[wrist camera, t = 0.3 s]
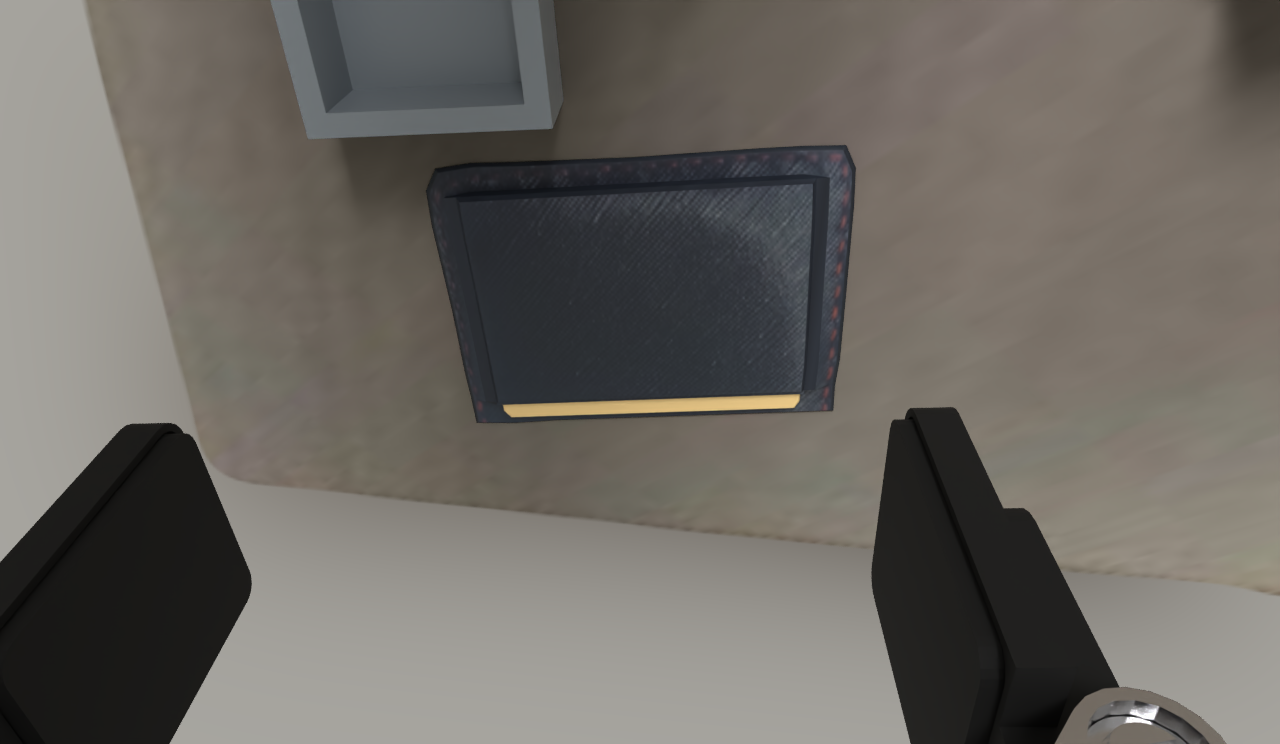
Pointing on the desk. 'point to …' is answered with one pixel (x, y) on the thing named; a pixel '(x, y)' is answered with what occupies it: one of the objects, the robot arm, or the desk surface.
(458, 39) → the tray
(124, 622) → the robot arm
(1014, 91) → the desk surface
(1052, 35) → the desk surface
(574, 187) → the wallet
